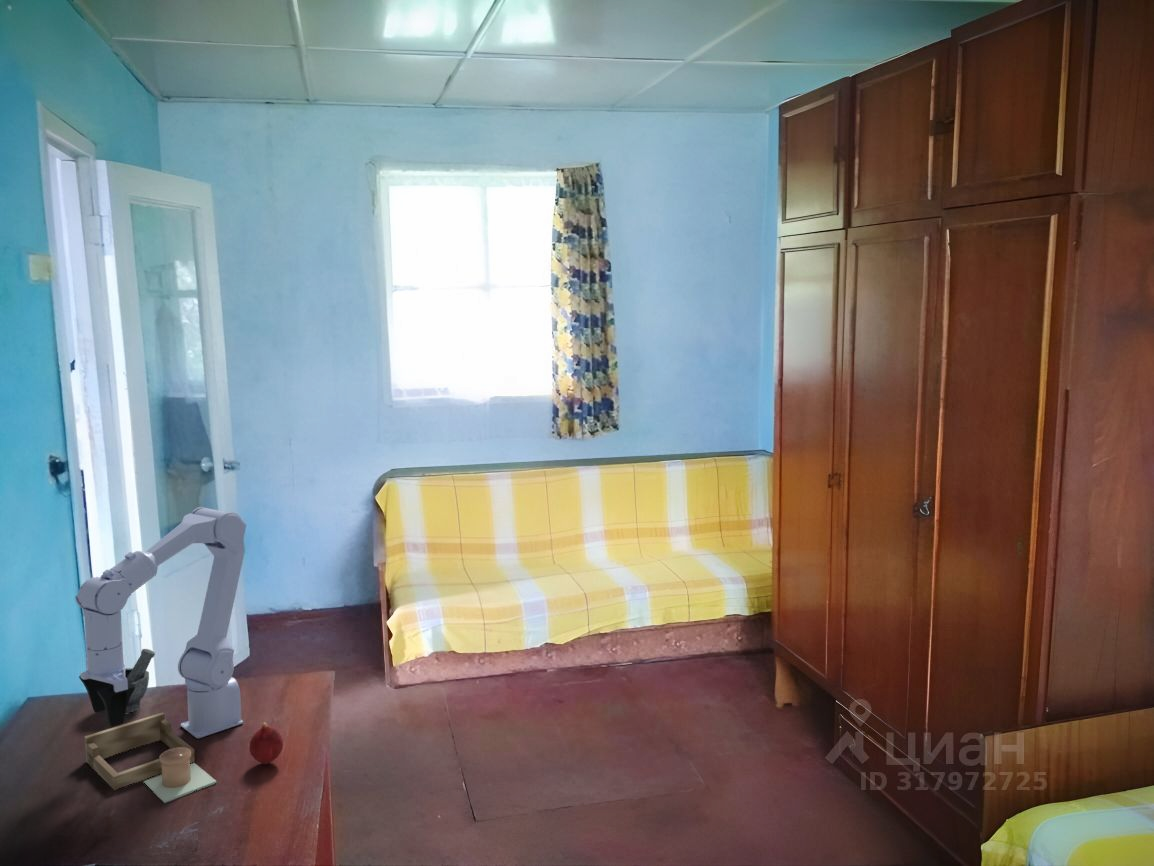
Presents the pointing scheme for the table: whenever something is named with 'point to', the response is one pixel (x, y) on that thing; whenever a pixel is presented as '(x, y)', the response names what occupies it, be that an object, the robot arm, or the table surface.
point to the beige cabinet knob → (175, 767)
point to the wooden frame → (128, 738)
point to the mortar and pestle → (138, 679)
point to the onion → (266, 744)
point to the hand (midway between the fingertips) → (108, 717)
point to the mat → (196, 783)
